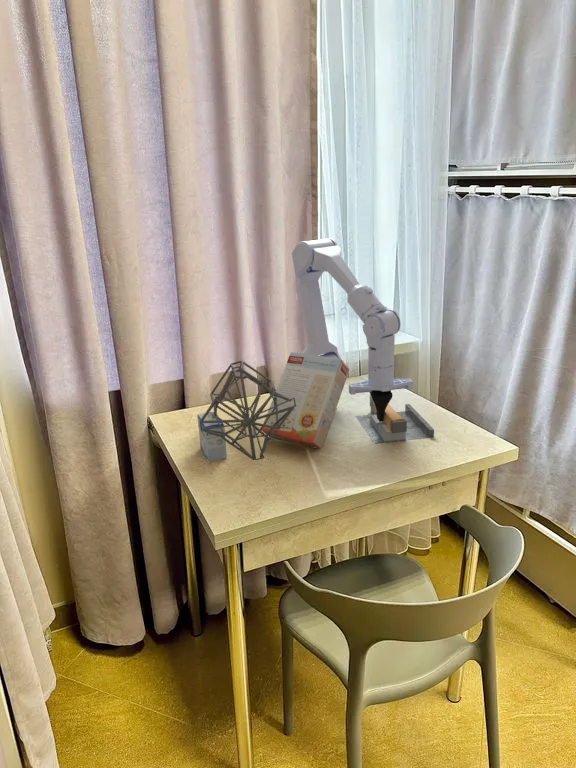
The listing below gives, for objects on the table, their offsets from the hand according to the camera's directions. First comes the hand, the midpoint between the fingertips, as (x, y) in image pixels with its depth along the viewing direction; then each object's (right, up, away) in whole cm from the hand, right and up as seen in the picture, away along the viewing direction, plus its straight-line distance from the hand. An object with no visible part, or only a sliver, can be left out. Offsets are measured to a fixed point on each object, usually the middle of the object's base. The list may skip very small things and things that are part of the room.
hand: (380, 419), depth 128 cm
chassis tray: (+4, -3, +4) cm, 6 cm away
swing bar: (+2, +1, +2) cm, 3 cm away
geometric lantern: (-34, +7, +12) cm, 37 cm away
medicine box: (-38, -8, -3) cm, 39 cm away
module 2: (+2, -4, -2) cm, 5 cm away
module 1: (+1, -2, +4) cm, 5 cm away
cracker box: (-21, -5, -4) cm, 22 cm away
